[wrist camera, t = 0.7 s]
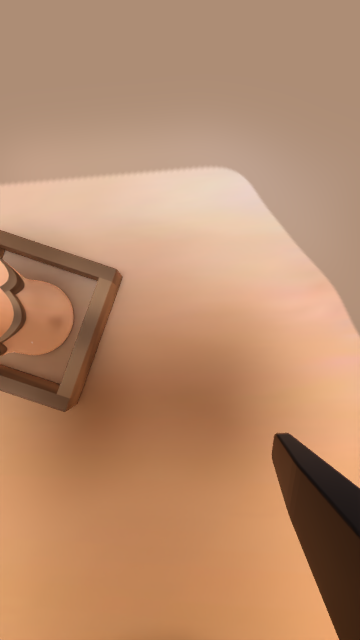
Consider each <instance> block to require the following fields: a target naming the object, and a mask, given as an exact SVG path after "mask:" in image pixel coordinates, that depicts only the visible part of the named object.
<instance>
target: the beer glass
mask: <svg viewBox="0 0 360 640" xmlns="http://www.w3.org/2000/svg"><path fill="white" fill-rule="evenodd" d="M73 320H74V313H73V308H72V305H71V302H70V300H69V298H68V297H67V296H66V294H65V293H64V292H63V291H62V290H61V289H60V288H58V287H57V286H55V285H53V284H51V283H48V282H45V281H39V280H28V279H26V278H25V277H23V276H22V275H21V274H20V273H18V272H17V271H16V270H15V269H14V268H12V267H11V266H10V265H9V264H7V263H6V262H5V261H4V260H3V259H1V258H0V356H3V355H5V354H8V353H11V352H14V353H15V352H17V353H21V354H26V355H41V354H45V353H48V352H51V351H53V350H54V349H56V348H57V347H59V346H60V345H61V344H62V343H63V342H64V341H65V340H66V339H67V337H68V335H69V334H70V332H71V329H72V326H73Z"/></svg>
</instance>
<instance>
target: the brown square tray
mask: <svg viewBox="0 0 360 640" xmlns="http://www.w3.org/2000/svg"><path fill="white" fill-rule="evenodd" d="M5 250H7V251H10V252H13V253H16V254H19V255H22V256H25V257H28V258H31V259H34V260H37V261H40V262H43V263H46V264H49V265H52V266H55V267H58V268H61V269H64V270H67V271H70V272H73V273H75V274H78V275H81V276H84V277H87V278H90V279H93V280H96V281H98V282H97V285H96V287H95V290H94V293H93V296H92V298H91V301H90V304H89V307H88V309H87V312H86V315H85V318H84V320H83V323H82V326H81V329H80V331H79V334H78V337H77V340H76V342H75V345H74V348H73V351H72V353H71V356H70V359H69V362H68V364H67V367H66V370H65V372H64V375H63V378H62V381H61V383H60V384H57V383H54V382H51V381H48V380H45V379H42V378H39V377H36V376H33V375H30V374H27V373H24V372H21V371H18V370H15V369H12V368H9V367H6V366H3V365H0V391H3V392H6V393H9V394H12V395H15V396H18V397H21V398H24V399H27V400H30V401H33V402H36V403H39V404H42V405H45V406H48V407H51V408H54V409H57V410H60V411H63V412H66V411H67V410H69V409H70V408H72V407H73V406H75V405H76V404H77V403H78V400H79V397H80V395H81V392H82V389H83V386H84V383H85V381H86V378H87V375H88V372H89V369H90V367H91V364H92V361H93V358H94V355H95V353H96V350H97V347H98V344H99V342H100V339H101V336H102V333H103V330H104V328H105V325H106V322H107V319H108V316H109V314H110V311H111V308H112V305H113V302H114V300H115V297H116V294H117V291H118V288H119V286H120V283H121V280H122V276H121V274H120V273H119V272H118V271H117V269H114V268H111V267H108V266H105V265H102V264H99V263H97V262H94V261H91V260H88V259H85V258H82V257H79V256H76V255H73V254H70V253H67V252H64V251H61V250H58V249H55V248H52V247H49V246H46V245H43V244H40V243H37V242H34V241H31V240H28V239H25V238H22V237H19V236H16V235H13V234H10V233H7V232H4V231H2V230H0V258H1V259H2V257H3V254H4V251H5Z"/></svg>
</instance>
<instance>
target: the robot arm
mask: <svg viewBox="0 0 360 640" xmlns="http://www.w3.org/2000/svg"><path fill="white" fill-rule="evenodd" d="M272 460H273V464H274V467H275V471H276V474H277V477H278V481H279V484H280V487H281V491H282V494H283V497H284V501H285V504H286V507H287V510H288V514H289V516H290V519H291V522H292V524H293V527H294V529H295V532H296V534H297V536H298V539H299V541H300V544H301V546H302V549H303V551H304V554H305V556H306V559H307V561H308V564H309V566H310V569H311V571H312V574H313V576H314V579H315V581H316V583H317V586H318V588H319V591H320V593H321V596H322V598H323V601H324V603H325V606H326V608H327V611H328V613H329V616H330V618H331V621H332V623H333V625H334V628H335V630H336V633H337V635H338V638H339V640H360V488H359V487H357V486H356V485H355V484H353V483H352V482H351V481H350V480H348V479H347V478H346V477H344V476H343V475H342V474H341V473H339V472H338V471H337V470H335V469H334V468H333V467H332V466H330V465H329V464H328V463H326V462H325V461H324V460H323V459H321V458H320V457H319V456H317V455H316V454H315V453H314V452H312V451H311V450H310V449H308V448H307V447H306V446H305V445H303V444H302V443H301V442H299V441H298V440H297V439H296V438H294V437H293V436H292V435H290V434H289V433H276V434H275V435H274V440H273V448H272Z"/></svg>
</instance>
